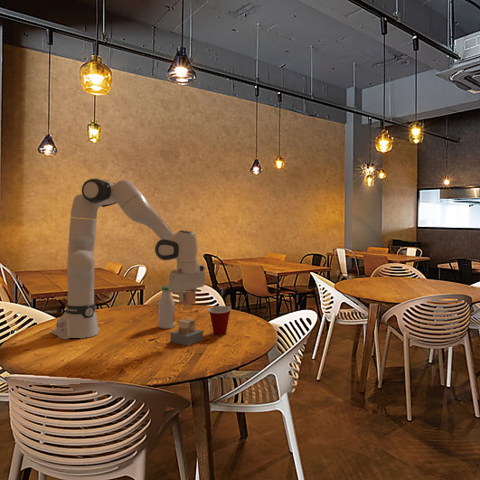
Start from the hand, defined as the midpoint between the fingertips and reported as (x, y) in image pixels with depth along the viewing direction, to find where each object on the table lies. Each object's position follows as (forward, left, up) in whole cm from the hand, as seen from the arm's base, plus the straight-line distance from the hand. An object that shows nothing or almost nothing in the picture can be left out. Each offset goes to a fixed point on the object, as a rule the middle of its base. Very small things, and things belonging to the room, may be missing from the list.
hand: (187, 299), depth 171 cm
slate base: (0, 0, -18) cm, 18 cm away
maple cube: (0, 0, -14) cm, 14 cm away
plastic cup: (+5, +17, -18) cm, 25 cm away
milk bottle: (-23, +11, -18) cm, 31 cm away
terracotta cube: (0, 0, -2) cm, 2 cm away
